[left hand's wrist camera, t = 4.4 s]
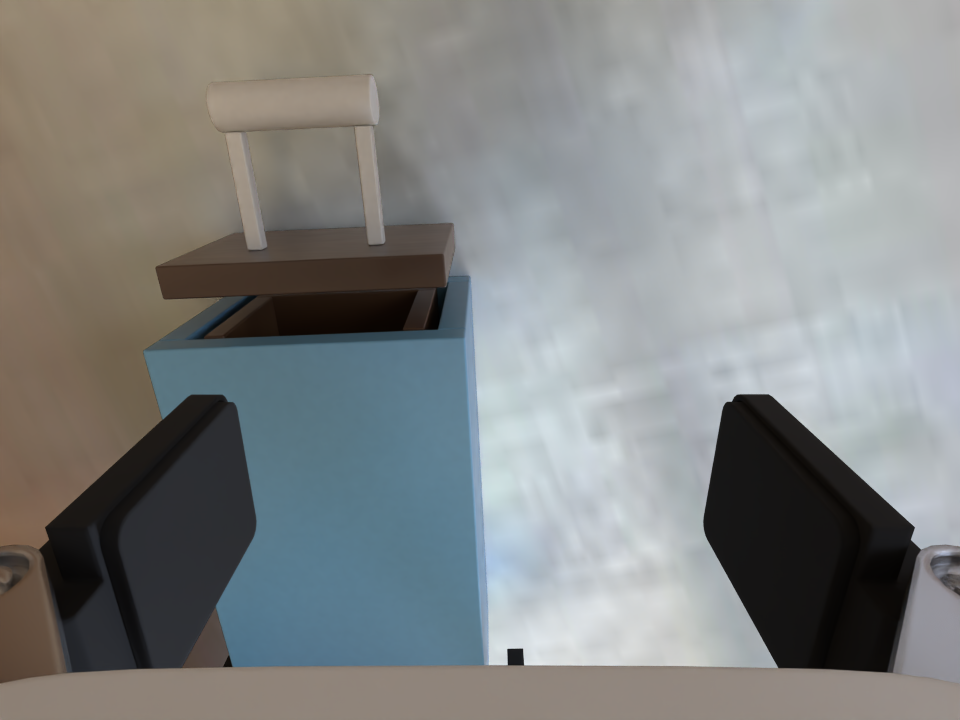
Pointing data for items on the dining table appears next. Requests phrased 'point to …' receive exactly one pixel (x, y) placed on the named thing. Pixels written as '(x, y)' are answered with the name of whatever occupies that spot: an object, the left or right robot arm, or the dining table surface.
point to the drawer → (312, 230)
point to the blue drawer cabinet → (349, 488)
